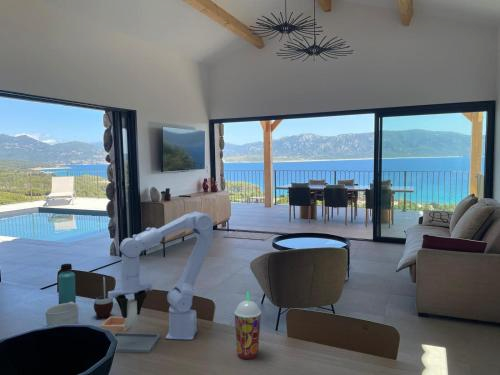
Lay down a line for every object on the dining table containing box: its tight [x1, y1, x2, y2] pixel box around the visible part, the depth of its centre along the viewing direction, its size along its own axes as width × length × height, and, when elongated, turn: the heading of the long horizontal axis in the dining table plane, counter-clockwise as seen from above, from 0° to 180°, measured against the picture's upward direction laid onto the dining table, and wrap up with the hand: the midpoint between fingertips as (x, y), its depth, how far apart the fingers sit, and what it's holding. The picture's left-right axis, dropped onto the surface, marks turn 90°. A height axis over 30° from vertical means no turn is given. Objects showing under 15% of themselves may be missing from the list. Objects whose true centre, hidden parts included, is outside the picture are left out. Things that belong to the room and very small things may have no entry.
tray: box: [114, 332, 161, 354], centre depth 126 cm, size 16×12×2 cm
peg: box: [125, 298, 138, 328], centre depth 126 cm, size 4×4×8 cm
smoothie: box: [233, 291, 262, 360], centre depth 120 cm, size 8×8×20 cm
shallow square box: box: [99, 316, 131, 335], centre depth 139 cm, size 9×9×3 cm
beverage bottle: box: [57, 263, 77, 304], centre depth 155 cm, size 6×7×20 cm
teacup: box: [44, 302, 79, 328], centre depth 141 cm, size 14×11×8 cm
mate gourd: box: [93, 276, 114, 320], centre depth 150 cm, size 8×8×15 cm
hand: (131, 315), depth 126 cm, fingers closed on peg, 4 cm apart
